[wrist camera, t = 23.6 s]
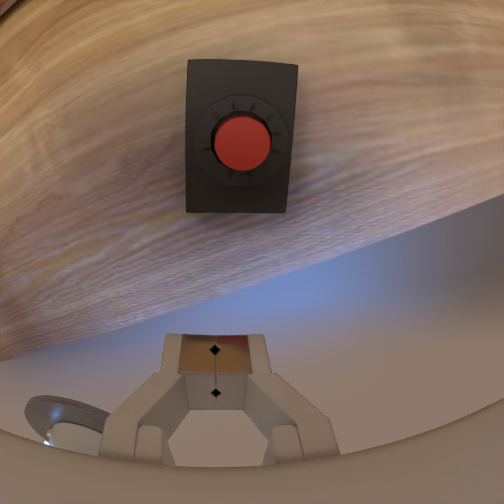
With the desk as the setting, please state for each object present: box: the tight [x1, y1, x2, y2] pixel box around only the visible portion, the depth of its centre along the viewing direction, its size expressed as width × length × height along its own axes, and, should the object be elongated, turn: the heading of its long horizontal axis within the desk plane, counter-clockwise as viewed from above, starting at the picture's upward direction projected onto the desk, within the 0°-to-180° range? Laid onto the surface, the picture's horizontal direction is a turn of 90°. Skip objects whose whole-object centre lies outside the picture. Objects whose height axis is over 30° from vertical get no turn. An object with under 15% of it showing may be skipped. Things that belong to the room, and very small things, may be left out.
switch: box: [215, 115, 271, 171], centre depth 20 cm, size 4×4×2 cm
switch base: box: [185, 59, 298, 213], centre depth 22 cm, size 12×8×4 cm, turn 177°
